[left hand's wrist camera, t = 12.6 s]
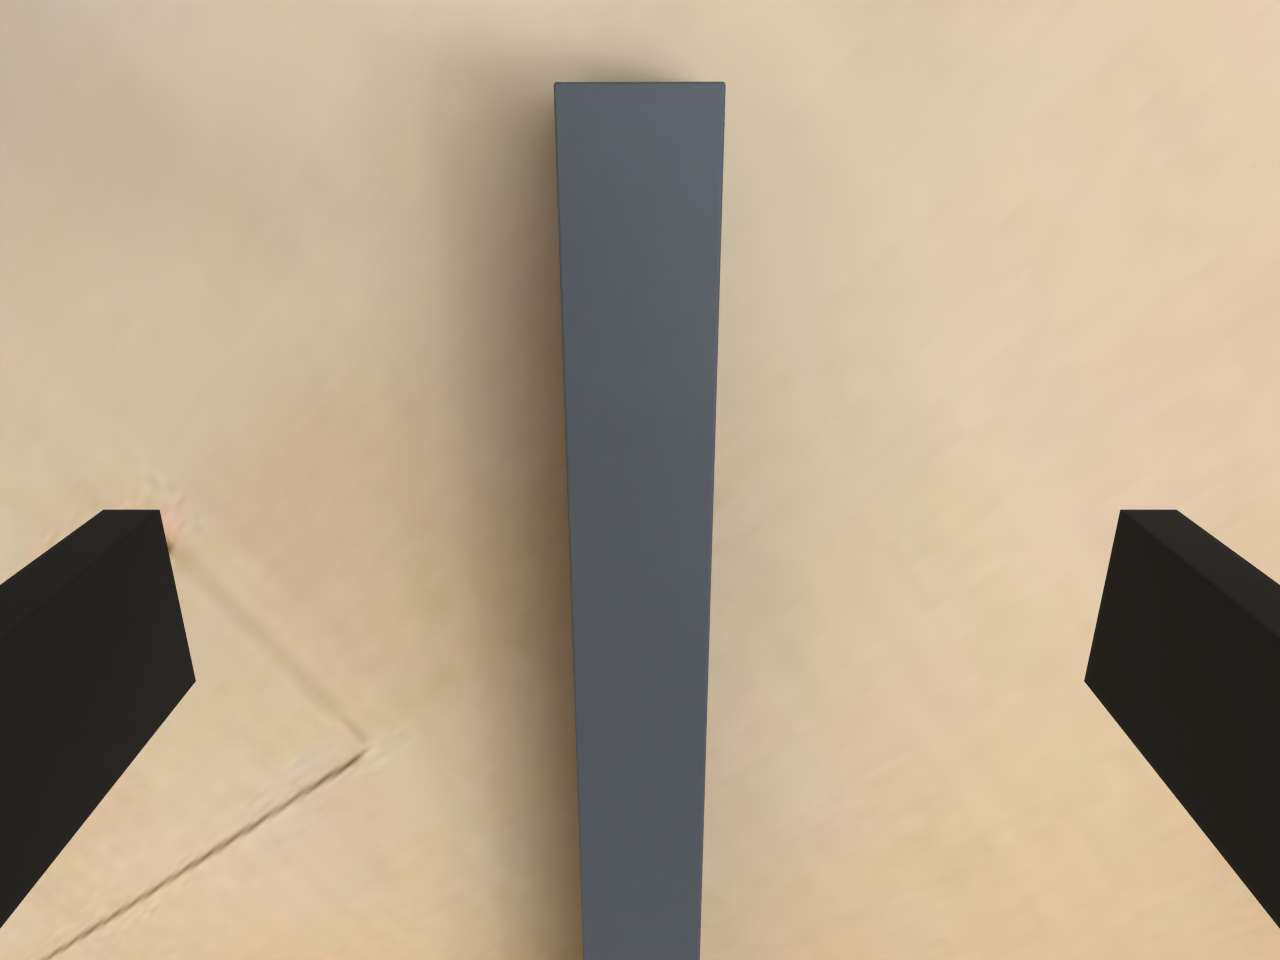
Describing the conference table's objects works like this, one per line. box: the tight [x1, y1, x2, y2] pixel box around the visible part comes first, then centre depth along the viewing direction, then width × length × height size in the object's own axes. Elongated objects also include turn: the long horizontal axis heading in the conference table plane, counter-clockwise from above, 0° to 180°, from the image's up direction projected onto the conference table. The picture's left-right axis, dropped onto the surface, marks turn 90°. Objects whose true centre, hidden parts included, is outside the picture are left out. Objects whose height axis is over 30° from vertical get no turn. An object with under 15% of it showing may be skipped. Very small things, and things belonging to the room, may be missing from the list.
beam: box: [554, 82, 726, 960], centre depth 42 cm, size 62×5×8 cm, turn 0°
